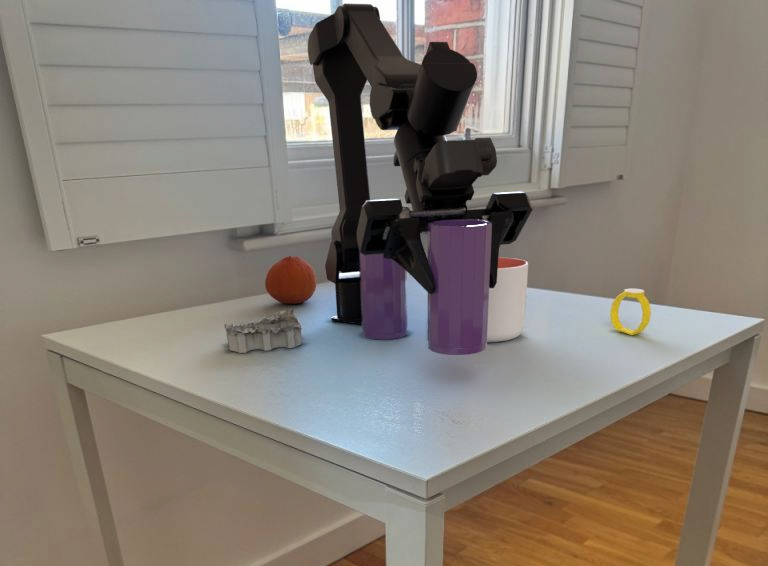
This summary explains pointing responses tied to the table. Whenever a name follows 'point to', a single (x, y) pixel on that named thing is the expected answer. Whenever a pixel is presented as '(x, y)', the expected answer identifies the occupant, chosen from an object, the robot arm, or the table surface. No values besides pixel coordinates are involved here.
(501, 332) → the cup
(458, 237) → the plum cup
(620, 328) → the watch
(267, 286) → the fruit
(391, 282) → the plum cup
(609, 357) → the table surface
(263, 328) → the egg carton
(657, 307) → the table surface
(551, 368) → the table surface
